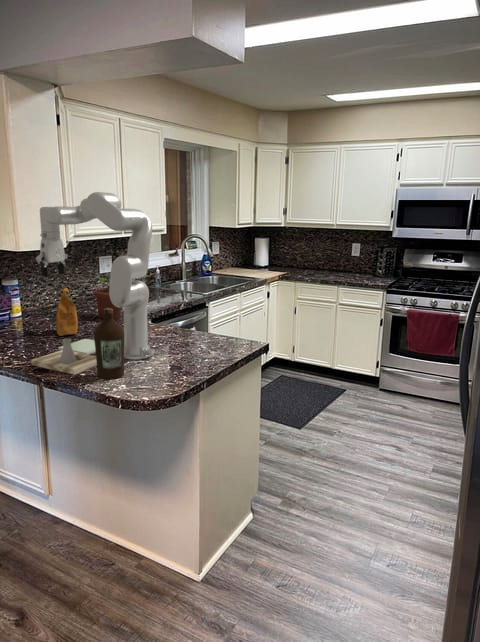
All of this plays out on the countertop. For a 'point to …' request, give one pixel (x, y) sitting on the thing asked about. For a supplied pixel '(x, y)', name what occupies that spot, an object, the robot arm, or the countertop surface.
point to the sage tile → (82, 346)
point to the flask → (67, 353)
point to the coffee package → (66, 316)
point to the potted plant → (105, 303)
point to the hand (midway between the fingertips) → (53, 275)
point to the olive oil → (109, 347)
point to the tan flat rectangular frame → (73, 368)
